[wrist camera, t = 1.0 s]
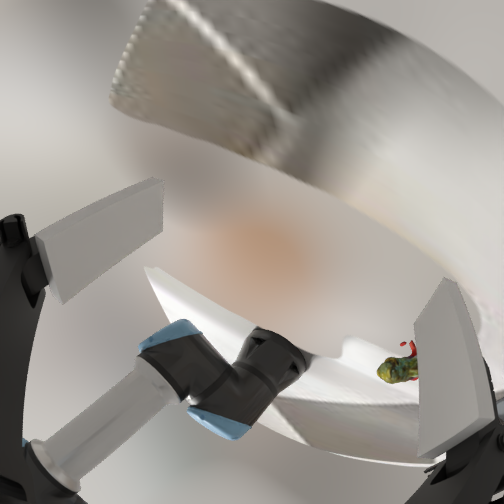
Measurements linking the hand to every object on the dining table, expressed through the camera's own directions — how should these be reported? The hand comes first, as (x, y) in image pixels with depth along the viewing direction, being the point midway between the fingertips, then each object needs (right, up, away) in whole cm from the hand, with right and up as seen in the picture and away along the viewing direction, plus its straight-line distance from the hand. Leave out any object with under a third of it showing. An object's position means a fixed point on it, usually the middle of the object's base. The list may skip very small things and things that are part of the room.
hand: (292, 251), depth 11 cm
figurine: (+25, -14, +23) cm, 36 cm away
